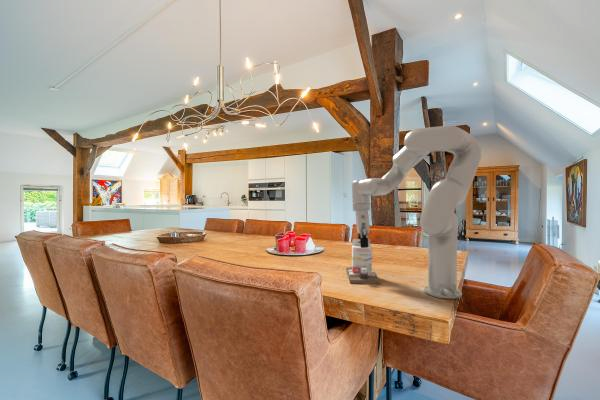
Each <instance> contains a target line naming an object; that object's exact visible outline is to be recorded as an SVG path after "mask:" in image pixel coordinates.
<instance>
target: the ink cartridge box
mask: <svg viewBox="0 0 600 400" xmlns="http://www.w3.org/2000/svg"><path fill="white" fill-rule="evenodd" d="M351 241H352V245H351V267H352V272H353V273H360V272H361V270H360V266H365V267H366V268H367V273H368V274H372V269H373V247H372V246H371V239H370V238H368V247H367V248H361V245H360V243H358V242H360V239H358V238H353V239H352V240H351Z"/></svg>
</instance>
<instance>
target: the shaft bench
mask: <svg viewBox="0 0 600 400" xmlns="http://www.w3.org/2000/svg"><path fill="white" fill-rule="evenodd" d="M360 270H361V272H360V273H353V272H352V266H351V267H350V266H349V267H346V270H345V271H346V273H347V276H348V277H347V278H348V281H349V283H350V284H357V285H358V284H361V285H362V284H366V285H372V284H373V285H379V284H380V279H379V278H378V275H377V274H376V273H375V271H374V270H373V268H372V274H368V273H367V268H366V267H365V266H360Z"/></svg>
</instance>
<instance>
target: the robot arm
mask: <svg viewBox="0 0 600 400" xmlns="http://www.w3.org/2000/svg"><path fill="white" fill-rule="evenodd" d="M403 139H404V140H403V145H404V146H403V147H402V148H401V149H400V150H399V151H398V152H397V153H395V154H394V155H393V157H392V167H391V168H390V170H389V171H388V172H387V173H386V174H384V175H383V176H382V177H380V178H379V177H371V178H366V179H356V180H353V181H352V182H351V195H352V196H351V197H352V198H351V199H352V212H355V224H356V225H355V226H356V227H355V228H356V232H357V239H360V242H358V243H360V245H361V248H367V247H368V239H369V237H368V234H370V232H371V229H370V228H371V226H370V216H369V211H371V206H370V205H371V204H370V202H371V200H370V199H371V198H370V197H371V196H386V195H388V194H390V193H391V192H392V191H393V190H394V189H396V188H397V187H399V185H400V184H401V183H402V182H403V181H404V179H405V177H406V176H407V175H408V173H410V171H411V170H412V169H413V168H415V167H416V166H417V164H419V163H420V162H422V160H424V158H425V157H427V156H428V155H429V154H430V153H432V152H447V153H451V154H453V159H452V161H451V163H450V165H449V167H448V170H447V173H446V174H445V178H444V179H441V180H439V181H437V182H435V183H434V184H433V186H432V187H431V189H430V191H429V193H428V194H427V195H428V196H427V198H426V201H425V203H424V207H423V209H422V212H421V214H420V217H419V226H420V228H421V231H422V232H424V234H426V235H427V236H428V246H427V247H428V248H427V249H428V252H427V253H428V255H427V256H428V262H427V263H428V266H427V267H428V276H427V277H428V285H426V286H424V287H423V292H424V293H425V294H427V295H428V296H431V297H433V298H434V297H435V298H439V299H445V300H447V299H448V300H449V299H450V300H453V299H459V298H461V297H462V296H463V292H462V291H461V290H460V289H459V288H458V235H459V218H458V215H457V214H456V213H455V210H456V209H457V206H460V205H462V204H463V203H465V201H466V200H467V197H468V194H469V191H470V188H471V186H472V184H473V181H474V179H475V176H476V173H477V172H478V171H477V170H478V168H479V165H480V162H481V158H482V148H481V145H480V143H479V141H478V140H477V139H476V138H475V137H474V136H473V135H472V134H470V133H469V132H468V131H466V130H464V129H462V128H460V127H458V126H454V125H440V126H431V127H420V128H415V129H412V130H410V131H409V132H408V133H407V134H406V135H405V137H404V138H403Z"/></svg>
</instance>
